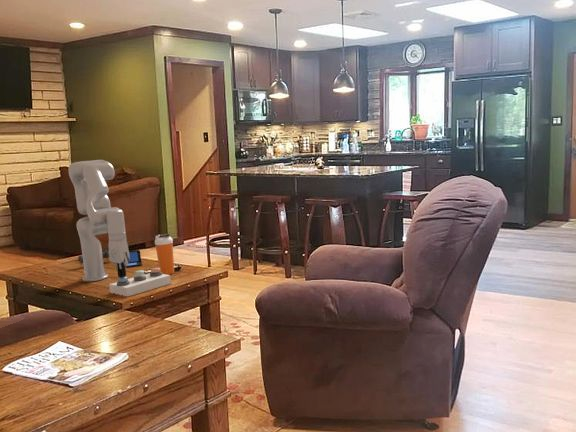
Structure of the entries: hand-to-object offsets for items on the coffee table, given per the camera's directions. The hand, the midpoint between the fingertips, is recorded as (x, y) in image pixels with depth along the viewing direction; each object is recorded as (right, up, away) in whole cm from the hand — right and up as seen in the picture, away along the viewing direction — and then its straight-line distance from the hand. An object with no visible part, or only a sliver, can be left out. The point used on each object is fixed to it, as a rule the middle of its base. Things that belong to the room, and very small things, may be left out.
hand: (122, 276), depth 274 cm
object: (-12, 0, +59) cm, 60 cm away
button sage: (+6, 0, +6) cm, 9 cm away
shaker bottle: (+14, -2, +33) cm, 36 cm away
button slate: (0, -2, 0) cm, 2 cm away
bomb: (-36, -1, +66) cm, 76 cm away
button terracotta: (+12, +1, +13) cm, 18 cm away
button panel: (+7, -6, +7) cm, 12 cm away
